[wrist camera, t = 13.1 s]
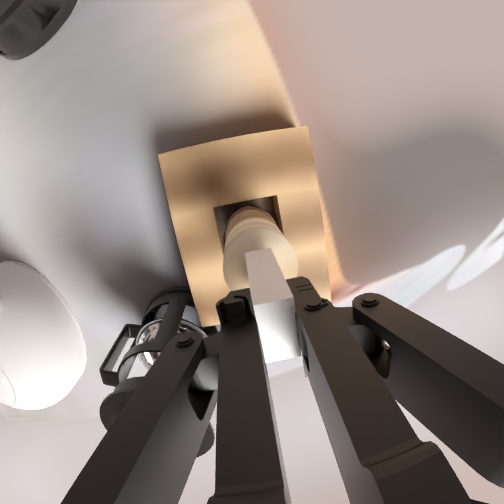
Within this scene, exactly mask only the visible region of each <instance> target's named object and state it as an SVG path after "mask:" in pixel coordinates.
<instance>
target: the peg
mask: <svg viewBox="0 0 504 504" xmlns="http://www.w3.org/2000/svg"><path fill="white" fill-rule="evenodd" d="M224 234H225V249H224V259H223V276H224V279H225V282H226V284H227V286H228V287H229V289H230V290H231V291H234V290H240V289H245V288H250V285H249V279H248V272H247V265H246V258H245V253H246V252H251V251H256V250H261V249H266V248H271V249H272V252H273V254H274V256H275V258H276V260H277V262H278V264H279V267H280V269H281V271H282V273H283V275H284V277H285V279H290V278H295V277H297V273H298V259H297V255H296V253H295V251H294V249H293V247H292V246H291V245H290V243H289V242H288V240H287V239H286V238H285V236H284V235H283V234H282V232H281V231H280V230H279V228H278V227H277V225H276V222H275V220H274V219H273V218H272V216H271V215H270V214H269V213H268V212H266V211H265V210H263V209H261V208H257V207H253V206H244V207H241V208H239V209H238V210H236V211H235V212H234V213H233V214H232V215H231V217H230V218H229V219H228V221H227V223H226V226H225V233H224Z"/></svg>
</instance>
